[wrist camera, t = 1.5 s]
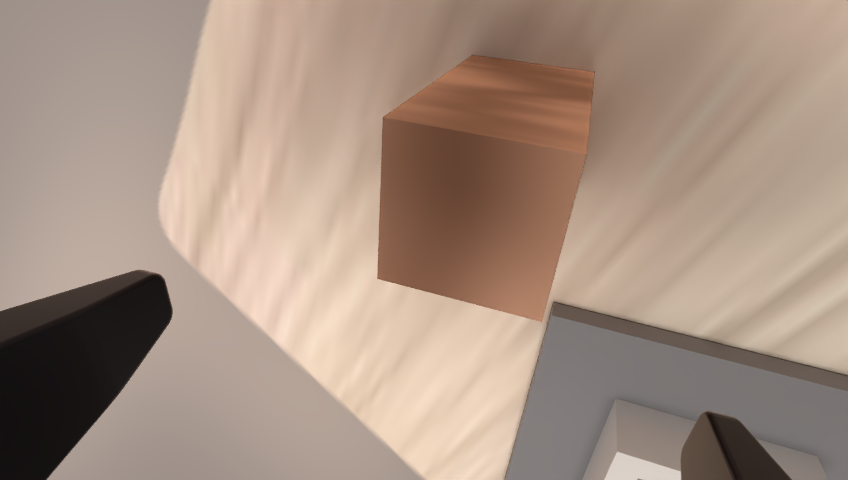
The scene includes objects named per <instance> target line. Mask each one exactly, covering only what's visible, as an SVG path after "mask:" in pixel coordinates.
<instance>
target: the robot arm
mask: <svg viewBox="0 0 848 480" xmlns="http://www.w3.org/2000/svg"><path fill="white" fill-rule="evenodd" d="M172 314H173V309H172V305H171V301H170V298H169V294H168V290H167V286H166V282H165V279H164V278H163V277H162V276H161V275H160V274H157V273H153V272H149V271H145V270H135V271H132V272H129V273H125V274H122V275H119V276H115V277H112V278H109V279H105V280H102V281H99V282H95V283H93V284H89V285H85V286H82V287H79V288H76V289H72V290H69V291H66V292H62V293H59V294H56V295H52V296H49V297H46V298H43V299H39V300H36V301H33V302H29V303H26V304H23V305H19V306H16V307H13V308H9V309H6V310H3V311H0V480H47V478H48V477H49V476H50V475H51V474H52V472H53V471H54V470H55V469H56V468H57V467H58V465H59V464H60V463H61V462H62V461H63V459H64V458H65V457H66V456H67V455H68V453H70V451H71V450H72V449H73V448H74V447H75V445H76V444H77V443H78V442H79V441H80V439H81V438H82V437H83V436H84V435H85V434H86V433H87V431H88V430H89V429H90V428H91V427H92V425H93V424H94V423H95V422H96V421H97V420H98V418H99V417H100V416H101V415H102V414H103V413H104V411H105V410H106V409H107V408H108V407H109V405H110V404H111V403H112V402H113V401H114V399H115V398H116V397H117V396H118V394H119V393H120V392H121V390H122V389H123V388H124V386H125V385H126V384H127V382H128V381H129V380H130V378H131V377H132V375H133V374H134V372H135V371H136V369H137V368H138V367H139V365H140V364H141V363H142V361H143V360H144V358H145V357H146V355H147V354H148V352H149V351H150V350H151V348H152V347H153V345H154V344H155V343H156V341H157V340H158V338H159V337H160V336H161V334H162V333H163V331H164V330H165V329H166V327H167V326H168V324H169V323H170V320H171V318H172ZM681 480H792V479H791V478H790V477H789V475H788V474H787V473H786V472H785V471H784V470H783V469H782V468H781V466H780V465H779V464H778V463H777V462H776V461H775V460H774V459H773V457H772V456H771V455H770V454H769V453H768V452H767V451H766V449H765V448H764V447H763V446H762V445H761V444H760V443H759V442H758V440H757V439H756V438H755V437H754V436H753V435H752V434H751V433H750V431H749V430H748V429H747V428H746V427H745V426H744V425H743V424H742V423H741V422H740V421H739V420H738V419H737V418H735V417H732V416H728V415H724V414H720V413H716V412H712V411H705V412H703V413H702V414H701V415H700V416H699V418H698V419H697V421H696V423H695V425H694V427H693V429H692V431H691V432H690V434H689V436H688V438H687V440H686V442H685V443H684V446H683V448H682V452H681Z"/></svg>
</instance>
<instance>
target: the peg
mask: <svg viewBox="0 0 848 480" xmlns="http://www.w3.org/2000/svg"><path fill="white" fill-rule="evenodd" d="M594 73H595V72H590V71H583V70H576V69H569V68H562V67H554V66H547V65H540V64H533V63H526V62H519V61H512V60H505V59H498V58H491V57H484V56H477V55H472V56H471V57H469V58H468V59H466V60H465V61H463V62H462V63H460V64H459V65H458V66H456V67H455V68H453V69H452V70H450V71H449V72H448V73H446V74H445V75H443V76H442V77H440V78H439V79H437V80H436V81H435V82H433V83H432V84H430V85H429V86H427V87H426V88H425V89H423V90H422V91H420V92H419V93H417V94H416V95H414V96H413V97H412V98H410V99H409V100H407V101H406V102H404V103H403V104H402V105H400V106H399V107H397V108H396V109H394V110H393V111H391V112H390V113H389V114H387V115H386V116H384V117H383V132H382V161H381V190H380V219H379V248H378V277H377V279H381V280H384V281H388V282H392V283H396V284H400V285H403V286H407V287H411V288H415V289H419V290H423V291H426V292H430V293H434V294H438V295H442V296H445V297H449V298H453V299H457V300H461V301H465V302H468V303H472V304H476V305H480V306H484V307H488V308H491V309H495V310H499V311H503V312H507V313H510V314H514V315H518V316H522V317H526V318H530V319H533V320H537V321H541V322H542V320H543V316H544V312H545V309H546V305H547V301H548V298H549V294H550V290H551V286H552V283H553V279H554V275H555V271H556V268H557V264H558V260H559V256H560V253H561V249H562V245H563V241H564V238H565V234H566V230H567V226H568V223H569V219H570V215H571V212H572V208H573V204H574V200H575V197H576V193H577V189H578V185H579V182H580V178H581V174H582V170H583V167H584V163H585V159H586V155H587V148H588V137H589V126H590V115H591V105H592V94H593V83H594Z"/></svg>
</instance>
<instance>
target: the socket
mask: <svg viewBox="0 0 848 480" xmlns="http://www.w3.org/2000/svg"><path fill="white" fill-rule="evenodd" d="M705 411H712V412H716V413H720V414H724V415H728V416H732V417H735V418H737V419H738V420H739V421H740V422H741V423H742V424H743V425H744V426H745V427H746V428H747V429H748V430H749V431H750V433H751V434H752V435H753V436H754V437H755V438H756V439H757V440H758V442H759V443H760V444H761V445H762V446H763V447H764V448H765V449H766V451H767V452H768V453H769V454H770V455H771V456H772V457H773V459H774V460H775V461H776V462H777V463H778V464H779V465H780V466H781V468H782V469H783V470H784V471H785V472H786V473H787V474H788V475H789V477H790V478H791V479H792V480H848V376H845V375H841V374H837V373H833V372H829V371H825V370H821V369H817V368H813V367H809V366H805V365H801V364H797V363H793V362H789V361H785V360H781V359H777V358H773V357H769V356H766V355H762V354H758V353H754V352H750V351H746V350H742V349H738V348H734V347H730V346H726V345H722V344H718V343H714V342H710V341H706V340H702V339H698V338H694V337H690V336H686V335H682V334H678V333H674V332H670V331H666V330H662V329H658V328H654V327H650V326H646V325H642V324H638V323H634V322H630V321H626V320H622V319H618V318H614V317H610V316H606V315H602V314H598V313H594V312H590V311H586V310H582V309H578V308H574V307H570V306H566V305H562V304H558V303H553V306H552V310H551V313H550V317H549V321H548V324H547V328H546V331H545V335H544V339H543V342H542V346H541V350H540V353H539V357H538V360H537V364H536V368H535V371H534V375H533V379H532V382H531V386H530V389H529V393H528V397H527V400H526V404H525V407H524V411H523V415H522V418H521V422H520V426H519V429H518V433H517V436H516V440H515V444H514V447H513V451H512V454H511V458H510V462H509V465H508V469H507V473H506V476H505V480H681V452H682V448H683V446H684V443H685V442H686V440H687V438H688V436H689V434H690V432H691V431H692V429H693V427H694V425H695V423H696V421H697V419H698V418H699V416H700V415H701V414H702V413H703V412H705Z"/></svg>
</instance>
